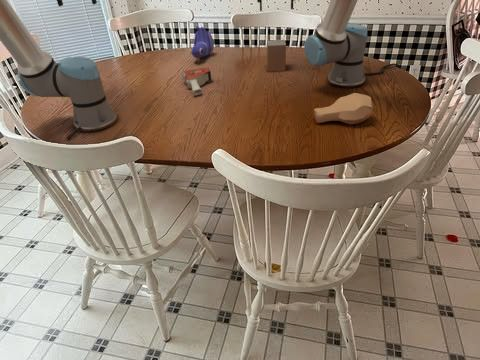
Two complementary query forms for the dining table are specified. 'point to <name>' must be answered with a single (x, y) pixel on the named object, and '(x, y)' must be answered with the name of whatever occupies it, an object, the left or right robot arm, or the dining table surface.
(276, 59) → the block
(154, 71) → the dining table surface
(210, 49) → the toy
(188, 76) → the tape dispenser
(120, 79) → the dining table surface
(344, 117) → the squash
